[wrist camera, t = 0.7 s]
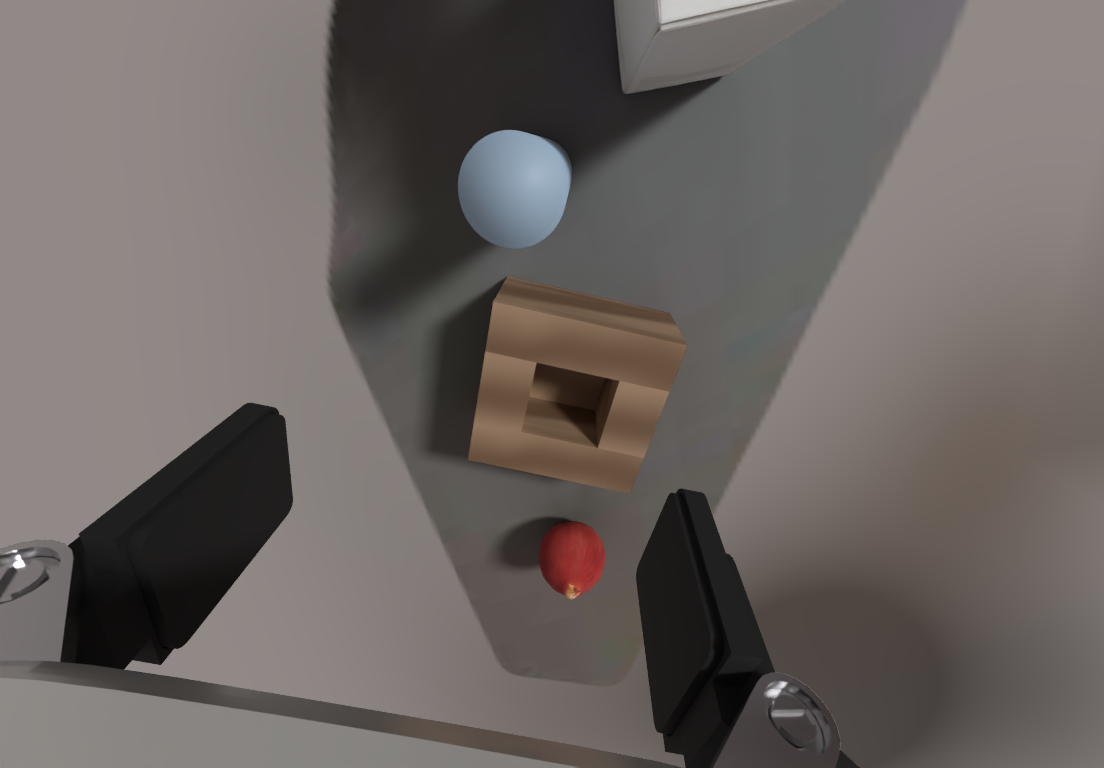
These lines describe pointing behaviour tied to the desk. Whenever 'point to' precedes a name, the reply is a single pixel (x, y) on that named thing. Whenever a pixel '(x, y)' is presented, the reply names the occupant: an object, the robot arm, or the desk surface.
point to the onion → (571, 558)
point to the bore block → (572, 384)
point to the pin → (514, 187)
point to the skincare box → (701, 36)
